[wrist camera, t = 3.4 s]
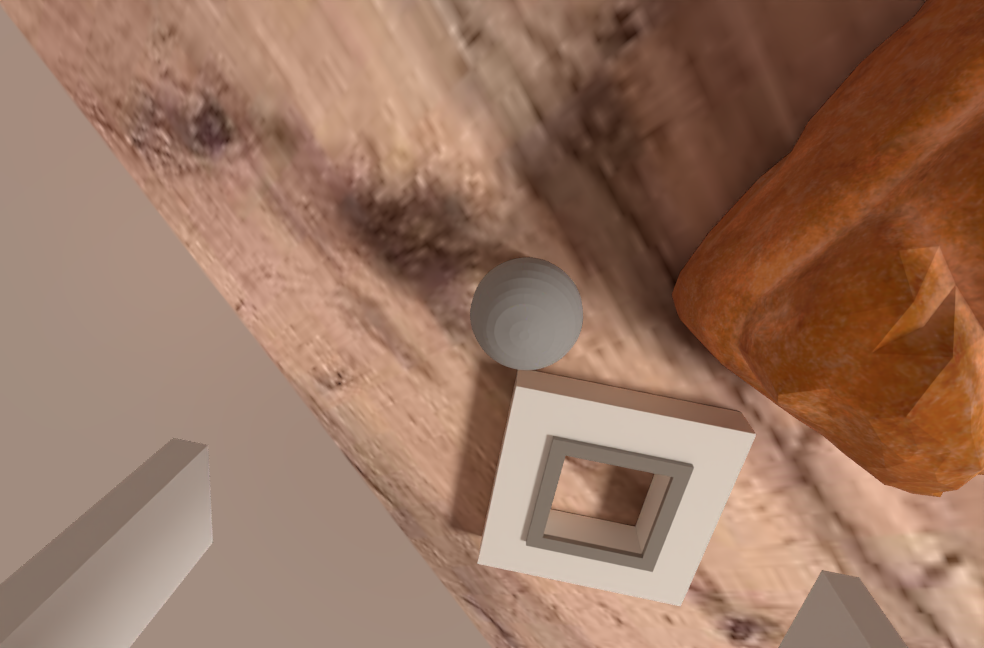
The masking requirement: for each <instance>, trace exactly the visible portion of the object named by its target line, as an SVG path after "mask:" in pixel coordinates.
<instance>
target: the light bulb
mask: <svg viewBox="0 0 984 648" xmlns="http://www.w3.org/2000/svg"><path fill="white" fill-rule="evenodd" d="M470 320H471V326H472V330H473V332H474V335H475V337H476V339H477V341H478V343H479V344H480V346H481V347H482V349H483V350H484V351H485V352H486V353H487V354H488V355H489V356H490V357H491V358H492V359H494V360H495V361H497V362H498V363H500V364H502V365H504V366H507V367H510V368H513V369H518V370H535V369H540V368H544V367H547V366H549V365H551V364H553V363H555V362H557V361H558V360H560V359H561V358H562V357H563V356H565V355H566V353H567V352H568V351H569V350H570V349H571V348H572V347H573V345H574V344H575V342H576V341H577V339H578V337H579V334H580V332H581V328H582V323H583V308H582V301H581V297H580V294H579V291H578V289H577V287H576V285H575V284H574V282H573V281H572V279H571V278H570V277H569V276H568V275H567V274H566V273H565V272H564V271H563V270H561V269H560V268H559V267H557V266H555V265H554V264H552V263H550V262H547V261H545V260H542V259H537V258H530V257H527V258H517V259H513V260H509V261H507V262H504V263H502V264H500V265H498V266H496V267H495V268H493V269H492V270H491V271H490V272H488V273H487V274H486V275H485V276H484V278H483V279H482V280H481V282H480V283H479V285H478V287H477V289H476V291H475V294H474V297H473V300H472V304H471V309H470Z"/></svg>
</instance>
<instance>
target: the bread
mask: <svg viewBox="0 0 984 648" xmlns="http://www.w3.org/2000/svg"><path fill="white" fill-rule="evenodd" d="M672 297H673V300H674V304H675V308H676V311H677V314H678V316H679V318H680V320H681V321H682V322H683V323H684V324H685V325H686V326H687V328H688V329H689V330H690V331H691V332H692V333H693V334H694V335H695V336H696V338H697V339H698V340H699V341H700V342H701V343H702V344H703V345H704V346H705V347H706V348H707V349H708V350H709V351H710V352H711V353H712V355H713V356H714V357H715V358H717V359H718V360H719V361H720V363H721V364H722V365H724V366H725V367H726V368H728V369H729V370H730V371H732V372H733V373H734V374H736V375H737V376H739V377H740V378H741V379H743V380H744V381H745V382H747V383H748V384H750V385H751V386H752V387H754V388H755V389H756V390H758V391H759V392H760V393H762V394H763V395H765V396H766V397H767V398H769V399H770V400H771V401H773V402H774V403H775V404H777V405H778V406H779V407H781V408H782V409H784V410H785V411H787V412H788V413H789V414H791V415H792V416H794V417H795V418H796V419H798V420H799V421H801V422H803V423H804V424H806V425H807V426H809V427H810V428H812V429H814V430H815V431H817V432H818V433H820V434H821V435H823V436H824V437H825V438H826V439H828V440H829V441H830V442H831V443H832V444H833V445H835V446H836V447H837V448H838V449H839V450H840V451H842V452H843V453H844V454H845V455H846V456H848V457H849V458H850V459H852V460H853V461H854V462H856V463H857V464H858V465H859V466H861V467H862V468H863V469H865V470H866V471H867V472H869V473H870V474H871V475H873V476H874V477H875V478H876V479H878V480H879V481H880V482H882V483H883V484H884V485H888V486H893V487H896V488H898V489H901V490H904V491H907V492H909V493H912V494H920V495H928V496H936V497H941V495H942V493H943V492H946V491H953V490H958V489H959V488H960V487H962V486H963V485H964V484H966V483H967V482H968V481H969V480H971V479H972V478H973V477H975V476H976V475H977V474H978V475H984V0H927V1H926V2H925V3H924V4H923V6H922V7H921V8H920V10H919V11H918V12H917V14H916V15H915V16H914V17H913V18H912V19H911V20H910V21H908V22H907V23H906V24H905V25H904V26H902V27H901V28H900V29H899V30H898V31H896V32H895V33H894V34H893V35H892V36H890V37H889V38H888V39H887V40H886V41H884V42H883V43H882V44H881V45H880V46H878V47H877V48H876V49H875V50H874V51H873V52H872V53H871V54H870V55H869V56H868V57H866V58H865V59H864V60H863V61H862V62H861V63H860V64H859V65H858V66H857V67H856V68H855V70H854V71H853V72H852V73H851V74H850V75H849V76H848V78H847V79H846V80H845V81H844V82H843V83H842V84H841V86H840V87H839V88H838V89H837V90H836V91H835V92H834V93H833V95H832V96H831V97H830V98H829V99H828V100H827V101H826V103H825V104H824V105H823V106H822V107H821V108H820V109H819V111H818V112H817V113H816V114H815V115H814V116H813V117H812V118H811V120H810V121H809V122H808V124H807V125H806V127H805V129H804V131H803V132H802V134H801V136H800V138H799V139H798V141H797V143H796V145H795V146H794V148H793V150H792V152H791V153H789V154H788V155H787V156H786V157H785V158H783V159H782V160H781V161H780V162H778V163H777V164H776V165H775V166H773V167H772V168H771V169H770V170H769V171H767V172H766V173H765V174H764V175H762V176H761V177H760V178H759V179H758V180H757V181H756V182H755V183H754V184H753V186H752V187H751V188H750V189H749V190H748V191H747V192H746V193H745V194H744V195H743V196H742V197H741V199H740V200H739V201H738V202H737V203H736V204H735V205H734V206H733V207H732V208H731V209H730V211H729V212H728V213H727V214H726V215H725V216H724V217H723V218H722V219H721V220H720V221H719V222H718V224H717V225H716V226H715V227H714V228H713V229H712V230H711V231H710V232H709V233H708V235H707V236H706V237H705V239H704V240H703V242H702V243H701V244H700V246H699V247H698V248H697V250H696V251H695V253H694V254H693V255H692V257H691V258H690V259H689V261H688V262H687V263H686V265H685V266H684V268H683V269H682V270H681V272H680V274H679V276H678V279H677V282H676V285H675V287H674V290H673V293H672Z"/></svg>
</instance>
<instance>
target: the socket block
mask: <svg viewBox="0 0 984 648" xmlns="http://www.w3.org/2000/svg"><path fill="white" fill-rule="evenodd" d="M755 436H756V433H755V432H754V430H753V429H752V427H751V426H750V424H749V423H748V421H747V420H746V418H745V417H744V416H743V414H742V413H741V412H738V411H733V410H728V409H723V408H718V407H713V406H708V405H703V404H698V403H693V402H688V401H683V400H678V399H673V398H668V397H663V396H658V395H653V394H648V393H643V392H638V391H633V390H628V389H623V388H618V387H613V386H608V385H603V384H598V383H593V382H588V381H583V380H578V379H573V378H568V377H563V376H558V375H553V374H548V373H543V372H538V371H533V370H518V371H517V376H516V380H515V385H514V389H513V394H512V399H511V403H510V408H509V413H508V417H507V422H506V426H505V431H504V436H503V440H502V445H501V450H500V454H499V459H498V463H497V468H496V473H495V477H494V482H493V487H492V491H491V496H490V501H489V505H488V510H487V514H486V519H485V524H484V528H483V533H482V538H481V544H480V551H479V557H478V564H482V565H486V566H491V567H496V568H501V569H505V570H510V571H515V572H520V573H524V574H529V575H534V576H539V577H543V578H548V579H553V580H558V581H563V582H567V583H572V584H577V585H582V586H586V587H591V588H596V589H601V590H605V591H610V592H615V593H620V594H624V595H629V596H634V597H639V598H643V599H648V600H653V601H658V602H662V603H667V604H672V605H677V606H681V604H682V602H683V600H684V597H685V595H686V593H687V591H688V588H689V586H690V584H691V582H692V579H693V577H694V575H695V572H696V570H697V568H698V566H699V563H700V561H701V559H702V557H703V554H704V552H705V550H706V548H707V545H708V543H709V541H710V538H711V536H712V534H713V532H714V529H715V527H716V525H717V523H718V520H719V518H720V516H721V513H722V511H723V509H724V507H725V504H726V502H727V500H728V498H729V495H730V493H731V491H732V488H733V486H734V484H735V482H736V479H737V477H738V475H739V473H740V470H741V468H742V466H743V463H744V461H745V459H746V457H747V454H748V452H749V450H750V448H751V445H752V443H753V441H754V438H755ZM565 455H566V456H571V457H576V458H581V459H586V460H590V461H595V462H600V463H605V464H610V465H615V466H620V467H625V468H630V469H635V470H640V471H644V472H649V473H654V477H653V479H652V482H651V485H650V488H649V490H648V493H647V496H646V499H645V501H644V504H643V507H642V510H641V512H640V515H639V518H638V521H637V523H636V526H630V525H625V524H620V523H615V522H611V521H606V520H601V519H596V518H591V517H586V516H582V515H577V514H572V513H567V512H562V511H557V510H552V509H551V506H552V502H553V499H554V495H555V491H556V488H557V484H558V480H559V477H560V473H561V470H562V466H563V462H564V459H565Z"/></svg>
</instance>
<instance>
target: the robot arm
mask: <svg viewBox="0 0 984 648" xmlns="http://www.w3.org/2000/svg"><path fill="white" fill-rule="evenodd" d="M210 497H211V496H210V475H209V453H208V445H206V444H200V443H196V442H191V441H186V440H181V439H176V438H173V439H172V440H170V441H169V442H168V443H167V444H165V445H164V446H163V447H162V448H161V449H160V450H158V451H157V452H156V453H155V454H154V455H153V456H151V457H150V458H149V459H148V460H147V461H146V462H144V463H143V464H142V465H141V466H140V467H138V468H137V469H136V470H135V471H134V472H132V473H131V474H130V475H129V476H128V477H127V478H125V479H124V480H123V481H122V482H121V483H119V484H118V485H117V486H116V487H115V488H114V489H112V490H111V491H110V492H109V493H108V494H107V495H105V496H104V497H103V498H102V499H101V500H99V501H98V502H97V503H96V504H95V505H94V506H92V507H91V508H90V509H89V510H88V511H86V512H85V513H84V514H83V515H82V516H81V517H79V518H78V519H77V520H76V521H75V522H73V523H72V524H71V525H70V526H69V527H68V528H66V529H65V530H64V531H63V532H62V533H61V534H59V535H58V536H57V537H56V538H55V539H53V540H52V541H51V542H50V543H49V544H48V545H46V546H45V547H44V548H43V549H42V550H40V551H39V552H38V553H37V554H36V555H35V556H33V557H32V558H31V559H30V560H29V561H27V562H26V563H25V564H24V565H23V566H22V567H20V568H19V569H18V570H17V571H16V572H14V573H13V574H12V575H11V576H10V577H9V578H7V579H6V580H5V581H4V582H3V583H1V584H0V648H130V646H131V645H132V644H133V643H134V641H135V640H136V639H137V637H138V636H139V635H140V634H141V632H142V631H143V630H144V629H145V627H146V626H147V625H148V623H149V622H150V621H151V620H152V618H153V617H154V616H155V615H156V613H157V612H158V611H159V610H160V608H161V607H162V606H163V605H164V603H165V602H166V601H167V599H168V598H169V597H170V596H171V594H172V593H173V592H174V591H175V589H176V588H177V587H178V586H179V584H180V583H181V582H182V580H183V579H184V578H185V577H186V575H187V574H188V573H189V572H190V570H191V569H192V568H193V567H194V565H195V564H196V563H197V562H198V560H199V559H200V558H201V556H202V555H203V554H204V553H205V551H206V550H207V549H208V547H209V546H210V545H211V544H212V543H213V540H212V520H211V519H212V518H211V498H210ZM778 648H908V647H907V645H906V644H905V643H904V641H903V640H902V638H901V637H900V635H899V634H898V633H897V631H896V630H895V628H894V627H893V625H892V624H891V623H890V621H889V620H888V618H887V617H886V615H885V614H884V613H883V611H882V610H881V608H880V607H879V605H878V604H877V603H876V601H875V600H874V598H873V597H872V595H871V594H870V593H869V591H868V590H867V588H866V587H865V585H864V584H863V583H862V581H861V580H860V578H858V577H854V576H849V575H844V574H839V573H834V572H829V571H824V570H822V571H821V573H820V575H819V577H818V578H817V580H816V582H815V584H814V585H813V587H812V589H811V591H810V593H809V594H808V596H807V598H806V600H805V601H804V603H803V605H802V607H801V608H800V610H799V612H798V614H797V616H796V617H795V619H794V621H793V623H792V624H791V626H790V628H789V630H788V631H787V633H786V635H785V637H784V639H783V640H782V642H781V644H780V646H779V647H778Z"/></svg>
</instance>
